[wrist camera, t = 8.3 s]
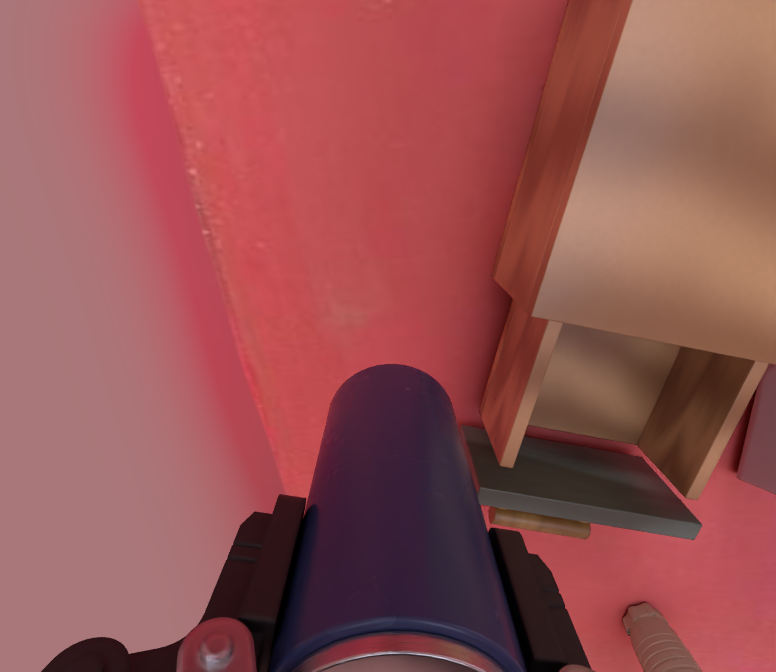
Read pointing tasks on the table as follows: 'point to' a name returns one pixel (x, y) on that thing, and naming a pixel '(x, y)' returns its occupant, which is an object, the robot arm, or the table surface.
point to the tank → (761, 437)
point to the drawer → (601, 428)
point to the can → (394, 543)
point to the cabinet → (653, 177)
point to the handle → (657, 642)
